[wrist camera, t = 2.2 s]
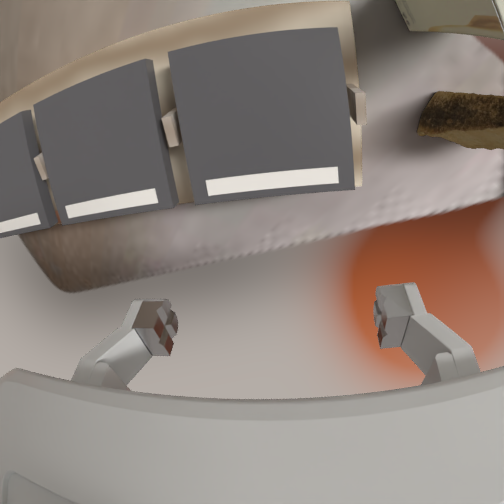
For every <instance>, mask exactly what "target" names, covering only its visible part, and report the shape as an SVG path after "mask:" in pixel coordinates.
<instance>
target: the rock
mask: <svg viewBox="0 0 504 504" xmlns="http://www.w3.org/2000/svg"><path fill="white" fill-rule="evenodd" d="M417 133H418V135H419V136H425V135H428V136H430V137H441V138H444V139H447V140H449V141H452V142H455V143H457V144H460V145H462V146H464V147H466V148H472V149H476V148H485V149H488V150H493V149H496V148H500V149H504V96H494V95H481V94H479V95H478V94H475V93H472V94H468V93H453V92H444V91H438V92H436V93H435V94H434V96H433V97H432V98H431V100H430V101H429V103H428V105H427V106H426V108H425V109H424V111H423V113H422V115H421V118H420V122H419V127H418V130H417Z"/></svg>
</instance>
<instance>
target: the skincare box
mask: <svg viewBox="0 0 504 504" xmlns="http://www.w3.org/2000/svg"><path fill="white" fill-rule="evenodd" d="M395 1H396V3H397V6H398V8H399V10H400V12H401V14H402V16H403V18H404V20H405V22H406V25H407V27H408V29H409V30H410V31H427V32H444V33H457V34H467V35H475V36H483V37H489V38H495V39H501V40H504V0H395Z"/></svg>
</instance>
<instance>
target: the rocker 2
mask: <svg viewBox="0 0 504 504" xmlns="http://www.w3.org/2000/svg"><path fill="white" fill-rule="evenodd" d="M168 58H169V65H170V71H171V77H172V83H173V90H174V95H175V101H176V107H177V113H178V119H179V124H180V130H181V135H182V141H183V146H184V151H185V157H186V162H187V167H188V172H189V177H190V182H191V187H192V192H193V197H194V202H195V205H199V204H207V203H215V202H224V201H232V200H242V199H251V198H261V197H271V196H281V195H292V194H303V193H316V192H328V191H342V190H355V178H354V161H353V146H352V134H351V123H350V113H349V103H348V95H347V86H346V78H345V71H344V64H343V57H342V51H341V45H340V39H339V33H338V27H327V28H307V29H293V30H283V31H273V32H265V33H257V34H250V35H244V36H238V37H232V38H226V39H221V40H216V41H211V42H206V43H202V44H197V45H193V46H189V47H185V48H181V49H177V50H173V51H169V52H168Z"/></svg>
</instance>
